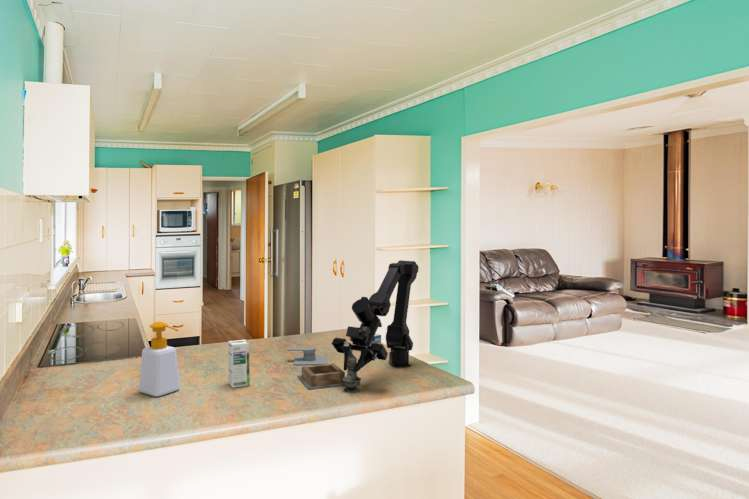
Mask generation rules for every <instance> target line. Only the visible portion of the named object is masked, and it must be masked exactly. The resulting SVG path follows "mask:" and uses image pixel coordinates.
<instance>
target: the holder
mask: <svg viewBox="0 0 749 499" xmlns="http://www.w3.org/2000/svg"><path fill="white" fill-rule="evenodd" d="M345 377H346V371H345V370H344V369H341V368H340V367H339V366H338V365H337V364H336V363H333V362H331V363H327V364H322V365H303V366H301V375H297V379H298V380H299V381H300V382H301V383H302V384H303V385H304V387H306V389H307V390H317V389H327V388H335V387H344V386H345V384H344V381H343V378H345ZM345 387H346V386H345Z"/></svg>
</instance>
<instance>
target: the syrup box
mask: <svg viewBox="0 0 749 499" xmlns="http://www.w3.org/2000/svg"><path fill="white" fill-rule="evenodd" d="M227 350H228V351H227V352H228V353H227V356H228V357H227V362H228V364H227V366H228V368H227V369H228V384H229V385H230V387H231V388H233V389H234V388H239V387H240V388H242V387H249V386H250V379H251V378H250V342H249V341H248V340H247V339H240V340H239V339H238V340H228V342H227Z"/></svg>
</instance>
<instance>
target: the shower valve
mask: <svg viewBox="0 0 749 499" xmlns="http://www.w3.org/2000/svg"><path fill="white" fill-rule="evenodd" d="M287 351H288V352H289V351H290V352H292V351H293V352H302V353H303V354H301V355H300V354H299V355H297V354H296V355H294V360H293V366H295V367H298V366H301V367H302V366H312V365H322V364H328V357H327V355H326V354H316V347H313V346H302V347H301V346H297V347H296V346H295V347H287Z"/></svg>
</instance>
